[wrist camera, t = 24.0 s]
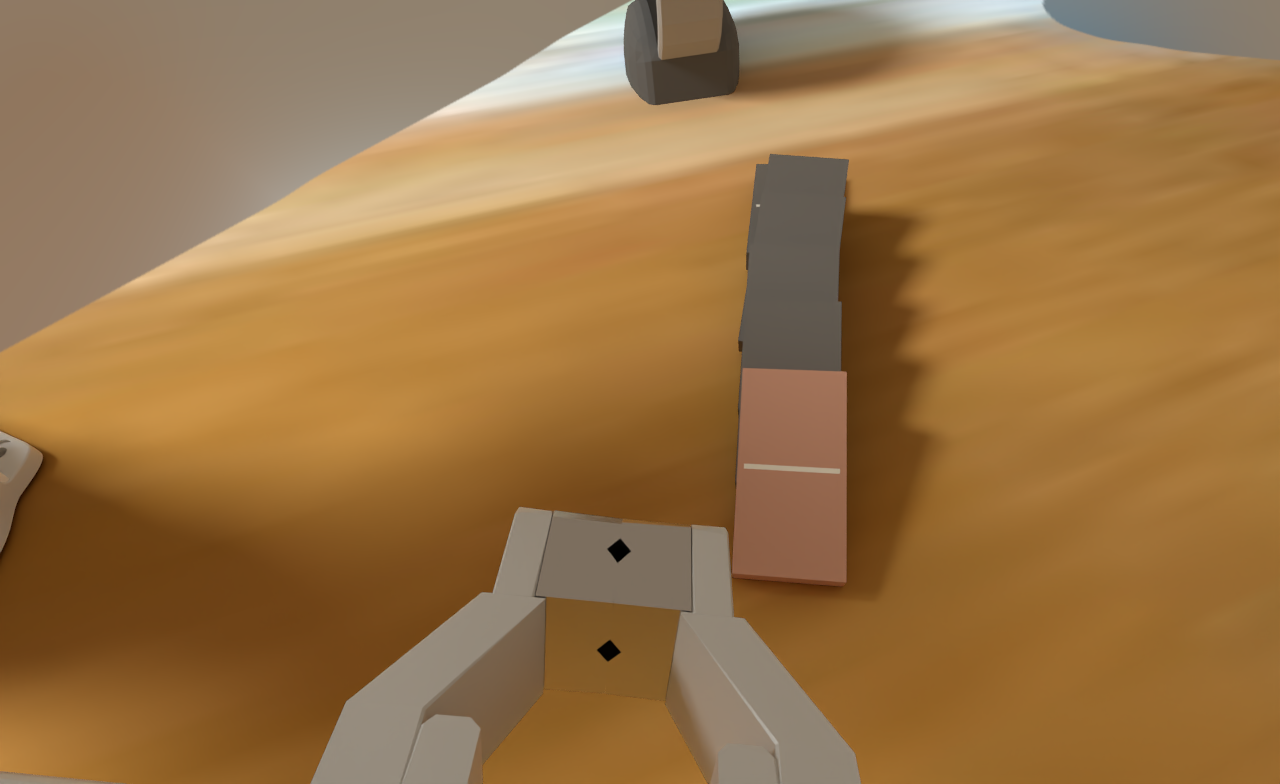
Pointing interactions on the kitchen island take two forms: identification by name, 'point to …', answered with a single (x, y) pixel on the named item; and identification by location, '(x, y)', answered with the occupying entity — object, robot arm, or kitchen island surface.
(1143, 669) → the kitchen island surface
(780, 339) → the domino
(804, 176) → the domino
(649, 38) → the alarm clock
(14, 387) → the kitchen island surface
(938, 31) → the kitchen island surface
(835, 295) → the domino
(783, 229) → the domino
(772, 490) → the domino
